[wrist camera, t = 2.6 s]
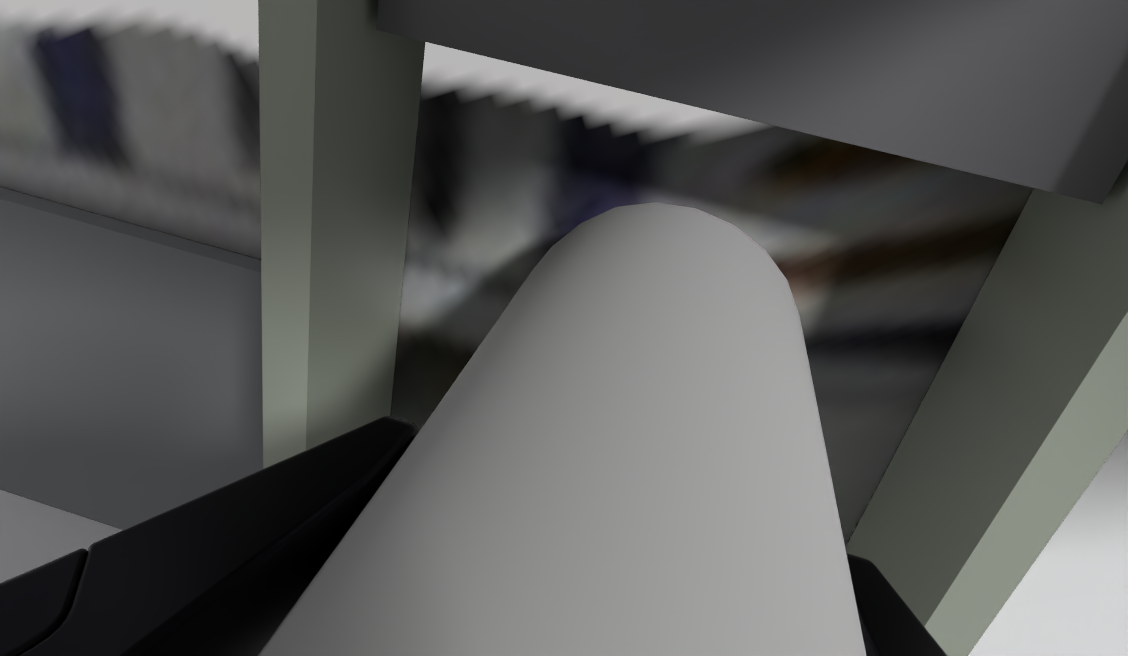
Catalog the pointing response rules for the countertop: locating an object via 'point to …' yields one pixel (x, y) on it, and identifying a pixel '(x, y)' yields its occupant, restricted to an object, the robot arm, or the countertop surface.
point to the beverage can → (608, 473)
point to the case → (785, 99)
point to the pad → (123, 363)
